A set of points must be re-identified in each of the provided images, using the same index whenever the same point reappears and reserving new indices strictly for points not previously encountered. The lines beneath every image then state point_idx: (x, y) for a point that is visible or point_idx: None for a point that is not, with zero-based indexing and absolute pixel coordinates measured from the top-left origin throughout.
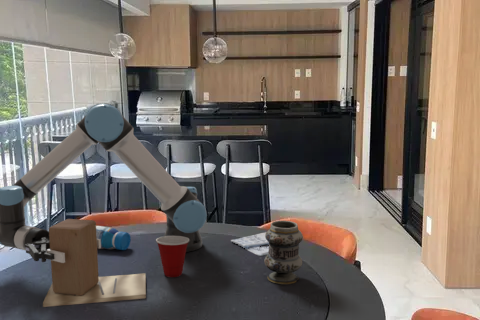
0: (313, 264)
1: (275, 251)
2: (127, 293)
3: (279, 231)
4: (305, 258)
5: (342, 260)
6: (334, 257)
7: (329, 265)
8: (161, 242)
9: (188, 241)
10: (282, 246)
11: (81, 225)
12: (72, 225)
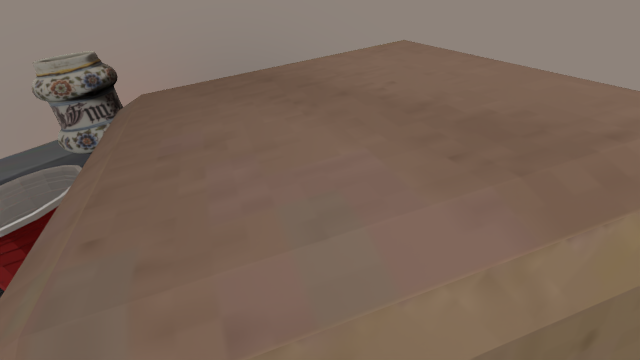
0: (42, 161)
1: (111, 102)
2: None
3: (95, 59)
4: (4, 175)
5: (28, 150)
6: (9, 158)
7: (51, 150)
8: (63, 192)
9: (34, 176)
10: (113, 86)
11: (337, 56)
12: (394, 67)
